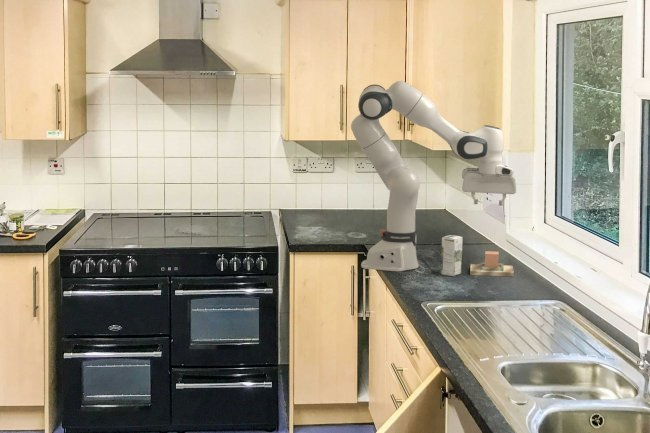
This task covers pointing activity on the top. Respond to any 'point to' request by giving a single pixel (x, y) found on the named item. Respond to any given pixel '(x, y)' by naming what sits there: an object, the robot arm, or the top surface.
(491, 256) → the block
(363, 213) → the top surface
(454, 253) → the syrup box
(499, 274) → the build board
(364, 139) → the robot arm
